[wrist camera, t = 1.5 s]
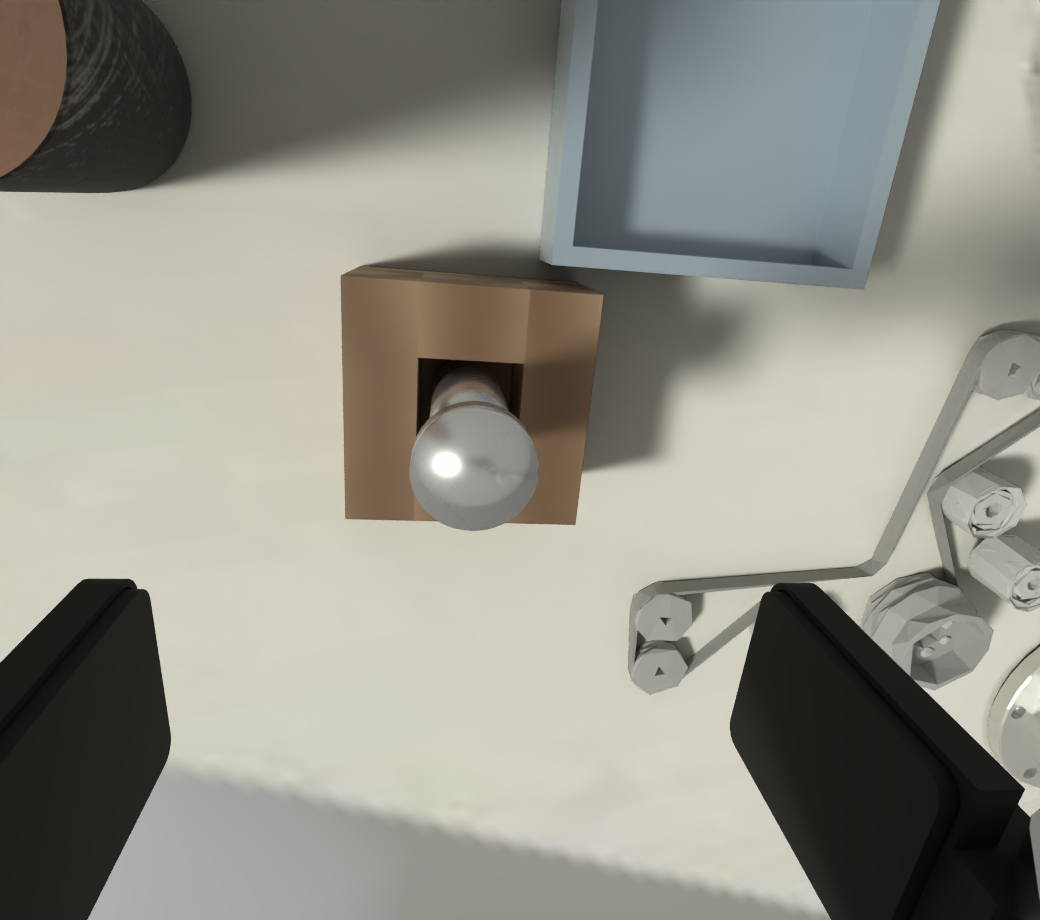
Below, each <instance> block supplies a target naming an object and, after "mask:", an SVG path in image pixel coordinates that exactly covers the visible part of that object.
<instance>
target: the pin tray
mask: <svg viewBox="0 0 1040 920" xmlns="http://www.w3.org/2000/svg"><path fill="white" fill-rule="evenodd" d="M939 4H940V0H562V2H561V14H560V25H559V37H558V48H557V60H556V71H555V83H554V94H553V106H552V117H551V129H550V140H549V152H548V163H547V175H546V187H545V198H544V210H543V221H542V233H541V244H540V256H539V260H542V261H544V262H546V263H549V264H551V265H560V266H573V267H585V268H598V269H611V270H624V271H636V272H649V273H662V274H674V275H687V276H700V277H713V278H725V279H738V280H751V281H763V282H776V283H789V284H802V285H814V286H827V287H840V288H852V289H864V288H865V284H866V280H867V276H868V273H869V269H870V265H871V261H872V258H873V254H874V250H875V246H876V242H877V239H878V235H879V231H880V227H881V223H882V220H883V216H884V212H885V208H886V205H887V201H888V197H889V193H890V189H891V186H892V182H893V178H894V174H895V170H896V167H897V163H898V159H899V155H900V151H901V148H902V144H903V140H904V136H905V133H906V129H907V125H908V121H909V117H910V114H911V110H912V106H913V102H914V98H915V95H916V91H917V87H918V83H919V79H920V76H921V72H922V68H923V64H924V61H925V57H926V53H927V49H928V45H929V42H930V38H931V34H932V30H933V26H934V23H935V19H936V15H937V11H938V7H939Z"/></svg>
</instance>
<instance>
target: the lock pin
mask: <svg viewBox="0 0 1040 920" xmlns="http://www.w3.org/2000/svg"><path fill="white" fill-rule="evenodd" d="M409 472H410V482H411V487H412V489H413V492H414V495H415V497H416V499H417V501H418V502H419V503H420V505H421V506H422V508H423V509H424V510H425V511H426V512H427V513H428V514H429V515H431V516H432V517H433V518H434V519H436V520H437V521H439V522H441V523H443V524H445V525H447V526H450V527H453V528H456V529H461V530H469V531H477V530H486V529H490V528H494V527H497V526H499V525H502V524H504V523H506V522H508V521H509V520H511V519H512V518H514V517H515V516H517V515H518V514H519V513H520V512H521V511H522V510H523V509H524V508H525V506H526V505H527V504H528V502H529V501H530V499H531V498H532V496H533V494H534V492H535V489H536V486H537V483H538V477H539V463H538V457H537V453H536V450H535V448H534V445H533V442H532V440H531V437H530V435H529V433H528V431H527V429H526V428H525V426H524V425H523V424H522V422H521V421H520V420H519V419H518V418H517V417H516V416H515V415H514V414H512V413H511V412H509V411H508V408H507V405H506V401H505V398H504V395H503V392H502V388H501V385H500V382H499V379H498V375H497V373H496V371H495V369H494V367H493V366H492V365H491V363H490V362H485V361H468V360H450V359H446V360H445V361H443V362H442V363H441V365H440V366H439V367H438V369H437V371H436V373H435V376H434V381H433V391H432V400H431V410H430V418H429V419H428V420H427V421H426V422H425V424H424V425H423V426H422V428H421V429H420V431H419V432H418V434H417V436H416V439H415V441H414V445H413V449H412V454H411V460H410V470H409Z"/></svg>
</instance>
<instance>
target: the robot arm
mask: <svg viewBox="0 0 1040 920" xmlns="http://www.w3.org/2000/svg"><path fill="white" fill-rule="evenodd" d="M730 732H731V737H732V741H733V743H734V745H735V747H736V749H737V751H738V753H739V755H740V756H741V758H742V760H743V762H744V764H745V765H746V767H747V769H748V771H749V773H750V774H751V776H752V778H753V780H754V782H755V783H756V785H757V787H758V789H759V791H760V792H761V794H762V796H763V798H764V800H765V801H766V803H767V805H768V807H769V809H770V810H771V812H772V814H773V816H774V817H775V819H776V821H777V823H778V825H779V826H780V828H781V830H782V832H783V834H784V835H785V837H786V839H787V841H788V843H789V844H790V846H791V848H792V850H793V852H794V853H795V855H796V857H797V859H798V861H799V862H800V864H801V866H802V868H803V870H804V871H805V873H806V875H807V877H808V879H809V880H810V882H811V884H812V886H813V888H814V889H815V891H816V893H817V895H818V897H819V898H820V900H821V902H822V904H823V906H824V907H825V909H826V911H827V913H828V915H829V916H830V918H831V920H1040V809H1039V810H1037V811H1036V812H1035V813H1034V814H1032V815H1031V817H1029V816H1028V815H1027V814H1026V813H1025V812H1024V811H1023V810H1022V809H1021V808H1020V807H1019V806H1018V802H1019V800H1020V798H1021V796H1022V794H1023V792H1024V790H1025V789H1024V788H1023V787H1022V786H1021V785H1020V784H1019V783H1018V782H1017V781H1016V780H1015V779H1014V778H1013V777H1012V776H1011V775H1010V774H1009V773H1008V772H1007V771H1006V770H1005V769H1004V768H1003V767H1002V766H1001V765H1000V764H999V763H998V762H997V761H996V760H995V759H994V758H993V757H992V756H991V755H990V754H989V753H988V752H987V751H986V750H985V749H984V748H983V747H982V746H981V745H980V744H979V743H978V742H977V741H976V740H974V739H973V738H972V737H971V736H970V735H969V734H968V733H967V732H966V731H965V730H964V729H963V728H962V727H961V726H960V725H959V724H958V723H957V722H956V721H955V720H954V719H953V718H952V717H951V716H950V715H949V714H948V713H947V712H946V711H945V710H944V709H943V708H942V707H941V706H940V705H939V704H938V703H937V702H936V701H935V700H934V699H933V698H932V697H931V696H930V695H929V694H928V693H927V692H926V691H925V690H923V689H922V688H921V687H920V686H919V685H918V684H917V683H916V682H915V681H914V680H913V679H912V678H911V677H910V676H909V675H908V674H907V673H906V672H905V671H904V670H903V669H902V668H901V667H900V666H899V665H898V664H897V663H896V662H895V661H894V660H893V659H892V658H891V657H890V656H889V655H888V654H887V653H886V652H885V651H884V650H883V649H882V648H881V647H880V646H879V645H878V644H877V643H876V642H875V641H873V640H872V639H871V638H870V637H869V636H868V635H867V634H866V633H865V632H864V631H863V630H862V629H861V628H860V627H859V626H858V625H857V624H856V623H855V622H854V621H853V620H852V619H851V618H850V617H849V616H848V615H847V614H846V613H845V612H844V611H843V610H842V609H841V608H840V607H839V606H838V605H837V604H836V603H835V602H834V601H833V600H832V599H831V598H830V597H829V596H828V595H827V594H826V593H825V592H823V591H822V590H821V589H820V588H819V587H818V586H817V585H815V584H813V583H777V584H775V585H774V586H773V588H772V589H771V592H766V593H765V594H764V595H763V596H762V599H761V602H760V606H759V610H758V614H757V618H756V622H755V625H754V629H753V633H752V637H751V641H750V645H749V649H748V653H747V657H746V661H745V665H744V669H743V672H742V676H741V680H740V684H739V688H738V692H737V696H736V700H735V704H734V708H733V712H732V716H731V720H730ZM988 740H989V744H990V748H991V750H992V752H993V754H994V756H995V757H996V759H997V760H998V761H999V762H1000V763H1001V764H1002V765H1003V766H1004V767H1005V768H1006V769H1007V770H1008V771H1009V772H1010V773H1011V774H1012V775H1013V776H1014V777H1016V778H1017V779H1018V780H1020V781H1021V782H1024V783H1026V784H1029V785H1032V786H1034V787H1040V647H1039V648H1037V649H1036V650H1035V651H1034V652H1033V653H1031V654H1030V655H1029V656H1028V657H1027V658H1025V659H1024V660H1023V661H1022V663H1021V664H1020V665H1019V666H1018V667H1017V668H1016V669H1015V670H1014V671H1013V672H1012V673H1011V675H1010V676H1009V677H1008V679H1007V680H1006V682H1005V683H1004V685H1003V686H1002V687H1001V689H1000V691H999V693H998V695H997V697H996V699H995V701H994V703H993V705H992V709H991V713H990V716H989V720H988ZM170 745H171V733H170V726H169V720H168V713H167V706H166V700H165V693H164V687H163V680H162V673H161V667H160V660H159V654H158V647H157V640H156V634H155V627H154V620H153V614H152V607H151V601H150V596H149V594H148V592H147V591H146V590H144V589H137V586H136V584H135V583H134V581H132V580H131V579H84V580H82V581H81V582H80V583H78V584H77V585H76V586H75V587H74V588H73V589H72V590H71V591H70V592H69V593H68V594H67V596H66V597H65V598H64V599H63V600H62V601H61V602H60V603H59V604H58V605H57V606H56V607H55V608H54V609H53V610H52V611H51V612H50V613H49V614H48V615H47V616H46V617H45V618H44V619H43V620H42V621H41V622H40V623H39V624H38V625H37V626H36V627H35V628H34V629H33V630H32V631H31V632H30V633H29V634H28V635H27V636H26V637H25V638H24V639H23V640H22V641H21V642H20V643H19V644H18V645H17V646H16V647H15V648H14V649H13V650H12V651H11V652H10V653H9V654H8V655H7V657H6V658H5V659H4V660H3V661H2V662H1V663H0V920H87V919H88V917H89V915H90V913H91V911H92V909H93V907H94V905H95V903H96V901H97V899H98V897H99V895H100V893H101V891H102V889H103V887H104V885H105V883H106V881H107V879H108V877H109V875H110V873H111V871H112V869H113V867H114V865H115V863H116V861H117V859H118V857H119V855H120V853H121V851H122V849H123V847H124V845H125V843H126V841H127V839H128V837H129V835H130V834H131V831H132V830H133V828H134V825H135V823H136V821H137V819H138V818H139V816H140V813H141V811H142V810H143V808H144V805H145V804H146V802H147V799H148V797H149V796H150V794H151V792H152V790H153V788H154V786H155V784H156V781H157V779H158V778H159V776H160V774H161V772H162V770H163V768H164V766H165V763H166V761H167V758H168V755H169V751H170Z"/></svg>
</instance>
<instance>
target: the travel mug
mask: <svg viewBox="0 0 1040 920" xmlns="http://www.w3.org/2000/svg"><path fill="white" fill-rule="evenodd" d="M190 119H191V94H190V86H189V81H188V77H187V73H186V70H185V67H184V64H183V61H182V59H181V56H180V54H179V52H178V50H177V48H176V46H175V44H174V41H173V39H172V38H171V36H170V35H169V33H168V32H167V30H166V28H165V27H164V25H163V24H162V23H161V22H160V20H159V19H158V18H157V17H156V15H155V14H154V13H153V12H152V11H151V10H150V9H149V8H148V7H147V6H146V4H145V3H144V2H143V1H142V0H0V191H5V192H63V193H110V192H120V191H127V190H131V189H135V188H138V187H141V186H143V185H145V184H148V183H149V182H151V181H153V180H154V179H156V178H158V177H159V176H160V175H161V174H162V173H164V172H165V171H166V170H167V169H168V168H169V167H170V166H171V164H172V163H173V162H174V161H175V160H176V158H177V156H178V155H179V153H180V151H181V150H182V148H183V145H184V143H185V140H186V138H187V134H188V130H189V126H190Z"/></svg>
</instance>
